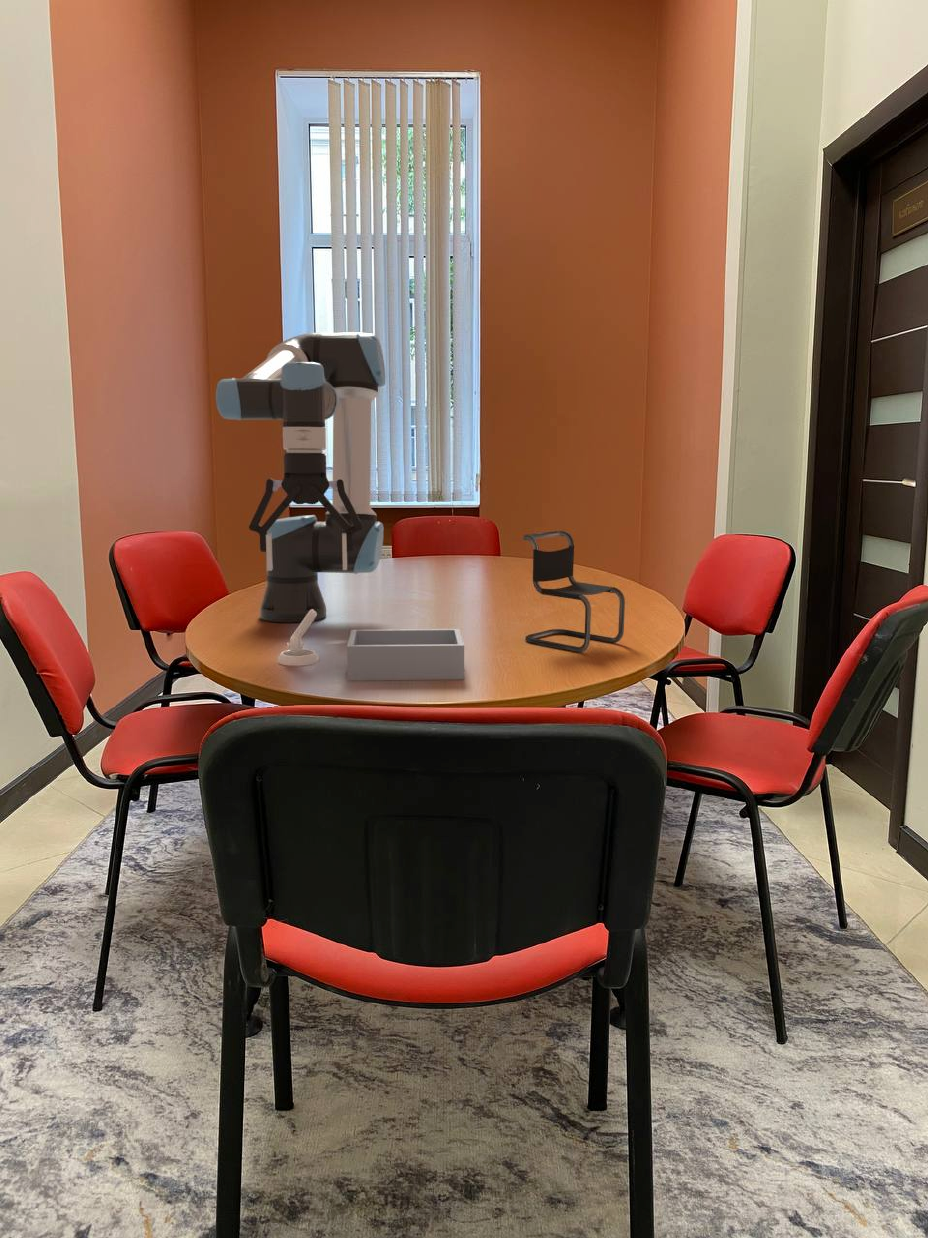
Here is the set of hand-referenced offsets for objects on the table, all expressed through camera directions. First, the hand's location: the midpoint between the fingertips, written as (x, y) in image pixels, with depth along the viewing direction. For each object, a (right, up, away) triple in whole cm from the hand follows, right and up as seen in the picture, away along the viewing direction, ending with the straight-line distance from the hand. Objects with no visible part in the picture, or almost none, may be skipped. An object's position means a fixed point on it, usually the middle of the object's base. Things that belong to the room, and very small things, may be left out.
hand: (307, 569), depth 166 cm
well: (+18, -18, -3) cm, 26 cm away
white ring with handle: (-2, -17, +3) cm, 18 cm away
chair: (+51, -14, +19) cm, 56 cm away
